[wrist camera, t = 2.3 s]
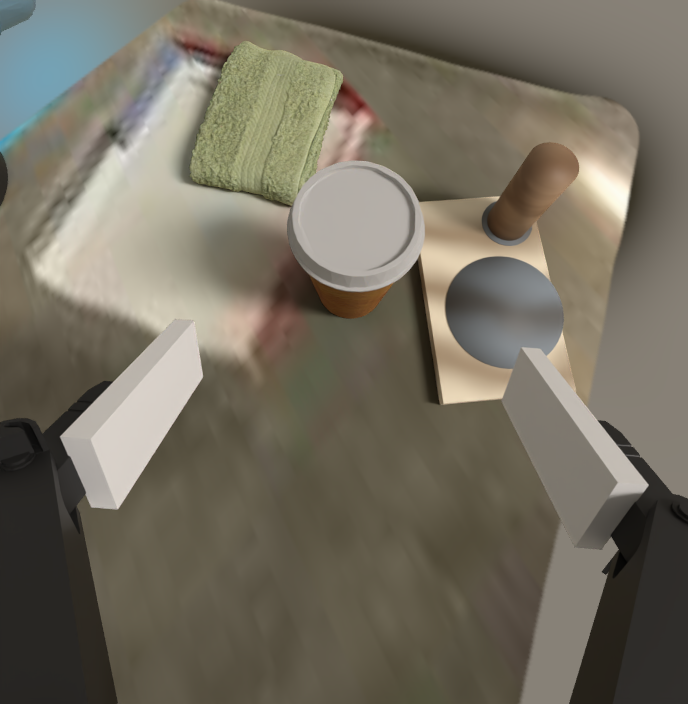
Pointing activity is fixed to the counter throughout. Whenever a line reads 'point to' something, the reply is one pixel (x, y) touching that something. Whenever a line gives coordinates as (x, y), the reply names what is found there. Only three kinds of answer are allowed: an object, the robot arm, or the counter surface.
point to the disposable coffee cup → (355, 234)
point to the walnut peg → (532, 190)
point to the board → (485, 301)
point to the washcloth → (265, 123)
